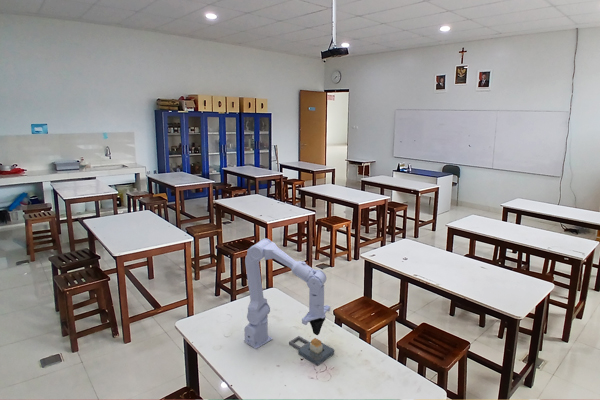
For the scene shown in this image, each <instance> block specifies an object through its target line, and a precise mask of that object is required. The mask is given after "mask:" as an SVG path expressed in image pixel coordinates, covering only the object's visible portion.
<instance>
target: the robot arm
mask: <svg viewBox="0 0 600 400" xmlns="http://www.w3.org/2000/svg"><path fill="white" fill-rule="evenodd" d="M246 251H247V254H246V256H245V259H244V264H245V270H246V279H247V286H248V291H249V299H250V302H249V304H248V306H247V315H246V320H247V322H248V324H247V325H245V327H244V331H243V332H244V339H243V342H244V343H246V344H247V345H249V346H250V347H252V348H254V349H255V350H257V349H258V348H260V347H261V346H263V345H265V344H267V343H268V342H270V341H272V340H273V337H271V336H270V335H269V325H268V324H269V323H268V322H269V321H268V315H269V314H270V312H271V307H270V305H269V303H268V299H267V298H266V297H264V292H263V291H264V290H263V284H262V276H261V270H260V262H261V260H262V259H263V260H264V261H267V260H275V261H277V262H278V263H281V264H282V265H284V266H285V267H286V266H287V268H290V269H291V273H292V275H294V276H296V277H298V278H299V279H300V280H302V281H304V282H305V283H306V285H307V287H308V288H309V290H308V293H309V295H308V299H309V301H308V306H309V307H308V310H309V311H308V312H307V313H306V315H305V316H304V317H303V318H301V324H303V325H304V326H307V325H308V323H309V324H310V326H311V329H312V333H313V334H314V335H316V336H319V335H320V333H321V329H322V326H323V325H324V322H325V321H326V313H327V312H331V305H328V304H325V283H326V281H327V275H326V273H325V272H324V271H323V270H321V269H316V268H313V267H311V266H310V265H308V264H307V262H305V260H303V261H302V260H295V259H294V258H293V257H291V256H290V255H288V254H287V253H286V252H285V251H283V250H282V249H281V248H280V247H278V246H277V244H276V243H275V242H274V241H271V239H269V238H268V237H267V238H262V239H260V240H259V241H258V242H256V243H255V244H254V245H251V246H250V247H249V248H248V249H247V250H246Z"/></svg>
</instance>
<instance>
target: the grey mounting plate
mask: <svg viewBox="0 0 600 400" xmlns="http://www.w3.org/2000/svg"><path fill="white" fill-rule="evenodd" d="M298 341H300V342H301V343H303V345H301V346H300V345H298V344H296V342H298ZM310 342H311V341H309V340H307V339H306V338H303V337H301V336H299V335H298V336H296V337H293V338H292V339H291V340H290V341H289V342H288V345H289V346H291V347H293V348H295V349H296V350H297V351H298V350H299V349H301V348H302V347H304V346H305V345H307V344H308V343H310Z"/></svg>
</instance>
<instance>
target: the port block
mask: <svg viewBox="0 0 600 400" xmlns="http://www.w3.org/2000/svg"><path fill="white" fill-rule="evenodd" d="M309 342H310V343H311V341H309ZM310 343H308V344H307V345H305V344H304V345H305V346H304V347H302V346H301V347H302V348H301V349H299V350H298V349H297V351H298V355H299V356H300V357H302V358H304V359H305V360H307V361H309V362H311V363H312V364H314V365H316V366H320V365H321V364H322V363H323V362H325V361H326V360H327V359H329V358H330V357H332V356H333V355H334V354H335V349H334V348H332V347H331V346H328V345H327V344H325V343H323V342H321V344H322V345H323V346H322V352H321V353H320V354H318V355H317V354H315V353H314V352H312V351H310Z"/></svg>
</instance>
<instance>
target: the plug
mask: <svg viewBox="0 0 600 400" xmlns="http://www.w3.org/2000/svg"><path fill="white" fill-rule="evenodd" d="M310 342H311V343H310V351H312V352H314V353H315V354H317V355H318V354H320V353H321V352H322V346H323V345H322V344H321V343H322V340H320V339H318V338H316V337H314V338H313V339H311V340H310Z"/></svg>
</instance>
